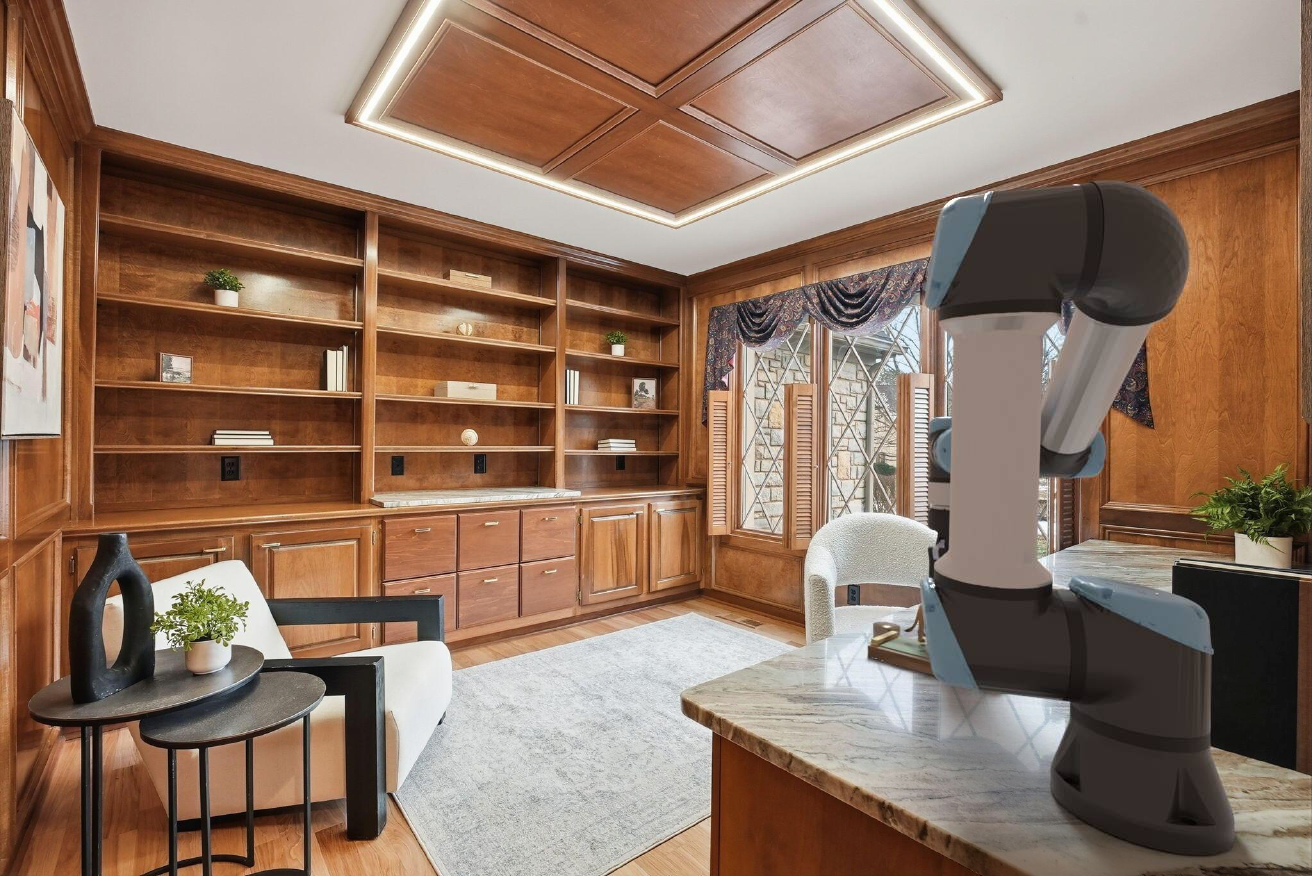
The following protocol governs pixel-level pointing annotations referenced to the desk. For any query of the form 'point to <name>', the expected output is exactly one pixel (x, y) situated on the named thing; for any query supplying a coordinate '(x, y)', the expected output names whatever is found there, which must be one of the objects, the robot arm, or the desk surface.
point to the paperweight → (884, 628)
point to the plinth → (901, 651)
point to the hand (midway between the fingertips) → (950, 643)
